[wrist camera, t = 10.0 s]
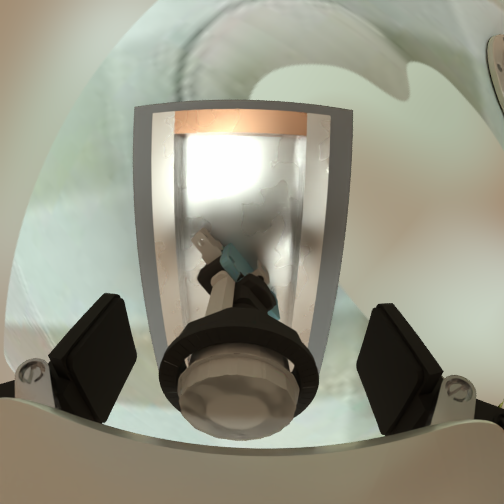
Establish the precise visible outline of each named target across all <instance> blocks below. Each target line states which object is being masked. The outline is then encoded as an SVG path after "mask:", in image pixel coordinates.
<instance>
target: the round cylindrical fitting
mask: <svg viewBox="0 0 504 504" xmlns="http://www.w3.org/2000/svg"><path fill="white" fill-rule="evenodd" d="M205 235H207V237H208V238H207V237H206V236H205ZM201 239H203V240H204V241H202V240H201ZM191 242H192V243H193V244H194V245H195V247H196V248H197V249H198V250H199V251H200V253H201V254H202V256H201V258H202V259H203V260H204V261H205V263H206V265H205V266H204V267H203V268H202V269H200V272H199V274H198V276H197V280H198V282H199V284H200V285H201V286H202V287H203V288H204V289H205V290H206V292H207V293H208V294H209V295H210V299H209V302H208V306H207V310H206V313H205V317H202V318H200V319H197V320H195V321H192V322H190V323H188V324H187V325H186V327H185V328H184V330H183V331H182V332H181V334H180V335H179V336H178V337H177V338H176V339H175V340H174V341H173V342H172V343H171V344H170V345H169V346H168V348H167V349H166V351H165V353H164V356H163V358H162V361H161V363H160V367H159V382H160V385H161V388H162V391H163V393H164V394H165V396H166V398H167V399H168V400H169V402H170V403H171V404H172V405H173V406H174V407H175V408H176V409H177V410H178V411H180V412H181V414H182V416H183V417H184V418H185V419H186V420H187V421H188V422H189V423H190V424H191V425H192V426H193V427H194V428H196V429H198V430H200V431H202V432H204V433H206V434H209V435H211V436H213V437H216V438H221V439H228V440H235V441H247V440H254V439H261V438H264V437H267V436H271V435H273V434H274V433H277V432H280V431H281V430H282V429H283V428H284V427H285V426H287V425H288V424H289V423H290V422H291V421H292V420H293V418H294V417H296V416H297V415H299V414H300V413H301V412H302V411H304V410H305V409H306V408H307V407H308V405H309V404H310V403H311V402H312V400H313V399H314V397H315V395H316V392H317V389H318V385H319V374H318V369H317V366H316V363H315V359H314V357H313V355H312V353H311V352H310V351H309V349H308V348H307V347H306V346H305V345H304V343H302V341H301V339H300V337H299V335H298V333H297V332H296V331H295V330H294V329H292V328H290V327H289V326H287V325H285V324H283V323H282V322H280V321H278V320H279V319H280V314H279V308H278V300H277V298H276V296H275V295H274V293H273V292H272V291H270V289H269V287H268V286H267V285H268V284H269V283H270V281H269V280H270V278H269V273H268V271H267V270H266V268H265V267H264V266H263V265H262V263H261V262H260V261H259V260H257V267H258V268H257V269H256V270H255V271H254V270H253V268H252V267H251V266H250V265H249V264H248V262H247V261H246V260H245V259H244V257H243V256H242V255H241V254H240V252H239V251H238V250H237V249H236V247H235V246H234V245H233V244H232V243H229V244H228V245H227V246H225V247H224V246H223V245H222V244H221V243H220V242H219V240H218V241H215V240H214V238H213V237H212V236H211V235H210V233H209V232H208V231H207V230H206V228H202V229H200V230H199V231H198V232H197V233H195V234H194V237H193V238H191ZM198 242H199V243H200V244H201V245H202V246H200V245H199V244H198ZM262 268H263V269H262ZM191 354H192V355H191ZM190 355H191V359H190V362H189V366H188V368H187V366H186V363H185V359H186V358H187V357H188V356H190ZM288 360H290V361H291V362H292V363H293V364H294V368H293V370H292V372H290V368H289V362H288Z"/></svg>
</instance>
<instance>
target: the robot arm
mask: <svg viewBox="0 0 504 504" xmlns="http://www.w3.org/2000/svg"><path fill="white" fill-rule="evenodd" d="M487 53H488V63H489V70H490V73H491V78H492V81H493V85H494V88H495V91H496V94H497V97H498V99H499V102H500V105H501V107H502V109H503V112H504V35H502V34H499V35H496V36H493V37H492V38H490V40H489V43H488V49H487ZM48 356H49V358H50V360H51V361H50V362H49V363H47V362H46V361H45V360H43V359H39V358H33V359H29V360H26V361H25V362H23V363H22V364H21V365H20V366H19V367H18V368H17V370H16V373H15V380H13V381H10V382H6V383H3V384H0V504H504V409H502V408H500V407H497V406H494V405H491V404H489V403H486V402H483V401H481V400H478V399H476V389H475V387H474V385H473V384H472V383H471V382H470V381H469V380H467V379H466V378H464V377H462V376H458V375H451V376H448V377H446V378H445V379H443V377H442V376H441V375H442V373H443V370H442V369H441V367H440V366H439V364H438V363H437V361H436V360H435V358H434V357H433V356H432V354H431V353H430V351H429V350H428V349H427V347H426V346H425V345H424V343H423V342H422V341H421V339H420V338H419V336H418V335H417V334H416V332H415V331H414V330H413V328H412V327H411V326H410V325H409V323H408V322H407V321H406V319H405V318H404V317H403V316H402V314H401V313H400V312H399V311H398V309H397V308H396V307H395V305H394V304H393V303H385V304H378V305H377V306H376V308H373V310H372V313H371V316H370V320H369V324H368V327H367V331H366V334H365V337H364V341H363V344H362V347H361V350H360V353H359V356H358V359H357V364H356V367H357V371H358V374H359V376H360V379H361V381H362V384H363V386H364V389H365V392H366V394H367V397H368V400H369V402H370V405H371V408H372V410H373V413H374V416H375V419H376V421H377V424H378V427H379V430H380V432H381V434H382V435H385V436H384V437H379V438H374V439H369V440H363V441H357V442H351V443H344V444H336V445H327V446H317V447H304V448H280V449H254V448H231V447H218V446H207V445H199V444H191V443H184V442H177V441H171V440H165V439H160V438H155V437H150V436H145V435H141V434H137V433H133V432H129V431H125V430H121V429H117V428H114V427H110V426H107V425H104V424H102V422H103V423H105V422H106V421H107V419H108V417H109V415H110V412H111V410H112V408H113V406H114V404H115V402H116V400H117V398H118V396H119V394H120V392H121V390H122V388H123V386H124V384H125V382H126V380H127V378H128V376H129V374H130V372H131V370H132V368H133V366H134V364H135V362H136V359H137V352H136V349H135V345H134V341H133V337H132V333H131V329H130V325H129V321H128V316H127V312H126V307H125V302H124V300H123V299H122V298H120V296H119V295H118V294H110V293H104V294H103V295H102V296H101V297H100V298H99V299H98V300H97V301H96V302H95V303H94V304H93V306H92V307H91V308H90V309H89V310H88V311H87V312H86V313H85V314H84V315H83V316H82V317H81V318H80V320H79V321H78V322H77V323H76V324H75V325H74V326H73V327H72V328H71V329H70V331H69V332H68V333H67V334H66V335H65V336H64V337H63V339H62V340H61V341H60V342H59V343H58V344H57V346H56V347H55V348H54V349H53V350H52V351H51V353H50V354H49V355H48Z"/></svg>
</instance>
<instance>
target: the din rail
mask: <svg viewBox="0 0 504 504" xmlns="http://www.w3.org/2000/svg"><path fill="white" fill-rule="evenodd" d="M330 122H331V116H330V115H322V114H313V113H304V112H293V111H279V110H260V109H203V110H184V111H171V112H160V113H153V117H152V152H151V172H152V208H153V227H154V241H155V253H156V264H157V274H158V283H159V291H160V299H161V306H162V313H163V320H164V326H165V332H166V338H167V344H168V346H169V345H170V344H171V343H172V342H173V341H174V340H175V339H176V338H177V337H178V336H179V335H180V334H181V332H182V331H183V330H184V328H185V327H186V325H187V324H188V323H190V322H192V321H195V320H197V319H200V318H202V317H205V313H206V310H207V306H208V302H209V299H210V295H209V294H208V293H207V292H206V290H205V289H204V288H203V287H202V286H201V285H200V284H199V282H198V280H197V276H198V274H199V272H200V269H202V268H203V267H204V266H205V265H206V263H205V261H204V260H203V259H202V258H201V256H202V254H201V253H200V251H199V250H198V249H197V248H196V247H195V245H194V244H193V243H192V242H191V238H193V237H194V234H195V233H197V232H198V231H199V230H200V229H202V228H206V230H207V231H208V232H209V233H210V235H211V236H212V237H213V238H214V240H215V241H218V240H219V242H220V243H221V244H222V245H223V246H224V247H225V246H227V245H228V244H229V243H232V244H233V245H234V246H235V247H236V249H237V250H238V251H239V252H240V254H241V255H242V256H243V257H244V259H245V260H246V261H247V262H248V264H249V265H250V266H251V267H252V268H253V270H254V271H255V270H256V269H257V268H258V267H257V260H259V261H260V262H261V263H262V265H263V266H264V267H265V268H266V270H267V271H268V273H269V278H270V280H269V281H270V283H269V284H268V285H267V286H268V287H269V289H270V291H272V292H273V293H274V295H275V296H276V298H277V300H278V308H279V314H280V319H279V320H278V321H280V322H282V323H283V324H285V325H287V326H289V327H290V328H292V329H294V330H295V331H296V332H297V333H298V335H299V337H300V339H301V341H302V343H304V345H305V346H306V347H307V348H308V343H309V337H310V331H311V325H312V319H313V313H314V306H315V300H316V293H317V286H318V278H319V270H320V262H321V254H322V245H323V235H324V225H325V214H326V202H327V189H328V173H329V154H330ZM205 236H206V237H207V235H205ZM207 238H208V237H207ZM201 240H202V241H204V240H203V239H201ZM198 244H199V245H200V246H202V245H201V244H200V243H199V242H198ZM262 269H263V268H262ZM191 355H192V354H191ZM191 355H190V356H188V357H187V358H186V359H185V363H186V366H187V368H188V366H189V362H190V359H191ZM288 362H289V368H290V372H292V370H293V368H294V364H293V363H292V362H291V361H290V360H288Z"/></svg>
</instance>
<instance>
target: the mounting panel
mask: <svg viewBox="0 0 504 504" xmlns="http://www.w3.org/2000/svg"><path fill="white" fill-rule="evenodd" d="M203 109H260V110H279V111H293V112H304V113H313V114H322V115H330V116H331V122H330V154H329V173H328V189H327V202H326V214H325V225H324V235H323V245H322V254H321V262H320V270H319V278H318V286H317V293H316V300H315V306H314V313H313V319H312V325H311V331H310V337H309V343H308V349H309V351H310V352H311V353H312V355H313V357H314V359H315V363H316V366H317V369H318V374H319V373H320V369H321V365H322V361H323V357H324V353H325V348H326V344H327V339H328V335H329V330H330V325H331V320H332V315H333V310H334V304H335V299H336V293H337V287H338V281H339V275H340V269H341V262H342V255H343V248H344V240H345V232H346V223H347V213H348V203H349V191H350V177H351V161H352V138H353V110H348V109H342V108H335V107H329V106H321V105H313V104H304V103H294V102H281V101H263V100H203V101H185V102H173V103H162V104H153V105H145V106H138V107H135V109H134V130H133V187H134V209H135V224H136V236H137V247H138V256H139V265H140V273H141V280H142V287H143V294H144V301H145V307H146V312H147V318H148V324H149V329H150V334H151V339H152V344H153V348H154V353H155V357H156V362H157V366H158V370H159V367H160V363H161V361H162V358H163V356H164V353H165V351H166V349H167V348H168V344H167V338H166V332H165V326H164V320H163V313H162V306H161V299H160V291H159V283H158V274H157V264H156V253H155V241H154V227H153V208H152V172H151V152H152V117H153V113H160V112H171V111H184V110H203Z"/></svg>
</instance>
